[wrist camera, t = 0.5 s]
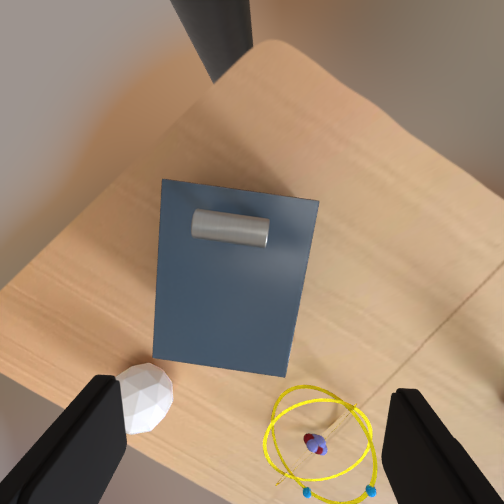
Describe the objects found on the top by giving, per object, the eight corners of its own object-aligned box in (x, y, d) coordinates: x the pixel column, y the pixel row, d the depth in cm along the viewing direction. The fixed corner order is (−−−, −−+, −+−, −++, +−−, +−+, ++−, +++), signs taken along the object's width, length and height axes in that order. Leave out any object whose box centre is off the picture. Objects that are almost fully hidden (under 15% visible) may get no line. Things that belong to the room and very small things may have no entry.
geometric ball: (156, 375, 41) (113, 430, 36) (129, 342, 37) (76, 400, 31) (194, 394, 37) (152, 459, 32) (169, 359, 33) (116, 428, 27)
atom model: (310, 478, 40) (227, 444, 37) (354, 381, 42) (279, 342, 39) (373, 588, 27) (252, 549, 24) (434, 440, 29) (329, 387, 26)
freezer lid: (165, 178, 23) (134, 177, 17) (317, 200, 23) (334, 205, 17) (155, 353, 27) (127, 396, 21) (284, 372, 27) (289, 420, 21)
